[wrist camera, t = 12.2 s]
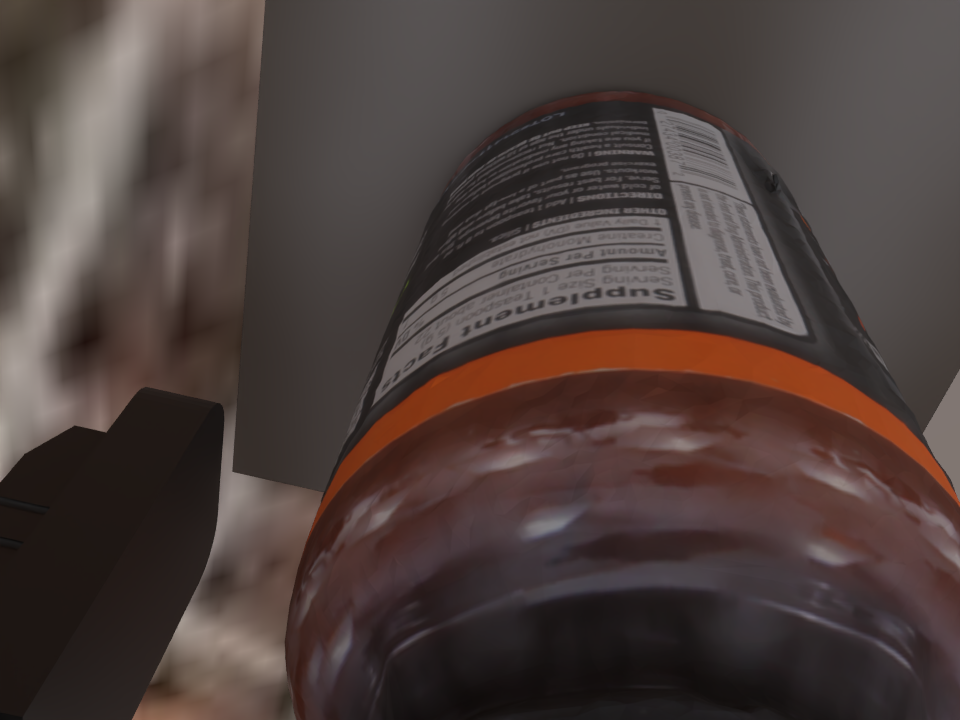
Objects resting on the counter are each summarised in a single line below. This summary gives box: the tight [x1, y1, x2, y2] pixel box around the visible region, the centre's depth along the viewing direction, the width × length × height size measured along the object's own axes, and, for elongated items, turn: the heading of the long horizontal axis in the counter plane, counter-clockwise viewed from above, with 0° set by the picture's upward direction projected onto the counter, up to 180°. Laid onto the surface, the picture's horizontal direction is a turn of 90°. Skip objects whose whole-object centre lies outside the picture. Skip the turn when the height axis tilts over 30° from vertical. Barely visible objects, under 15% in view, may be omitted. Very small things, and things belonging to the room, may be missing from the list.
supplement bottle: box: [285, 91, 960, 720], centre depth 10 cm, size 6×6×11 cm
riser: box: [232, 0, 960, 492], centre depth 17 cm, size 12×12×4 cm
